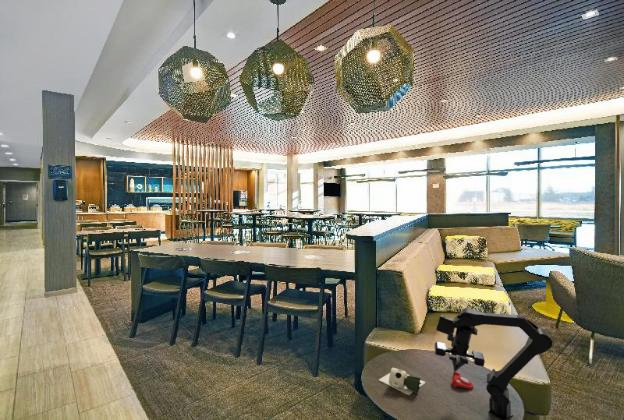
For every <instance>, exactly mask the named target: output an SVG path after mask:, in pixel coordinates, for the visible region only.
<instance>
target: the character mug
mask: <svg viewBox="0 0 624 420" xmlns="http://www.w3.org/2000/svg"><path fill="white" fill-rule="evenodd" d="M389 373H390V376H389V384H391V385H392V386H394V387H397V388H404V387H405V386H406V387H407V388H408V389H410V390H412V391H414V392H413V393H416V394H418V393H419V391H420V388H421V387H419V386H420V384H421V383H420V380H421V377H418V376H416V375H415V376H414V375H410V374H408V375H409V376H407V372H406V371H405V370H402V369H399V368H395V367H392V368H391V369H390V372H389Z"/></svg>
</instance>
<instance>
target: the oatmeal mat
mask: <svg viewBox="0 0 624 420" xmlns="http://www.w3.org/2000/svg"><path fill="white" fill-rule="evenodd" d="M406 374H407V373H406ZM409 375H410V374H407V376H409ZM389 376H390V372H389V373H387V374H385V375H384V376H383V377H381V378H379V379H378V381H379V382H381V383H383V384H385V385H387V386H389V387H390V388H391V387H392V388H394V390H395V389H396V391H400V392H401V393H403V394H405V395H408V396H410V395H411V394H413V393H415V392H414V391H412V390H410V389H408V388H407V387H406V386H405V387H404V388H397V387H394V386H392V385H391V384H389ZM420 383H421V384H420V386H419V387H420V388H421V387H422V386H424V385H425V384H426V381H424V380H421V379H420Z"/></svg>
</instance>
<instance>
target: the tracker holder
mask: <svg viewBox="0 0 624 420" xmlns="http://www.w3.org/2000/svg"><path fill="white" fill-rule="evenodd" d="M450 385H451V386H453V388H457V387H459V388H464V389H467V390H473V389H474V384H473V383H472V382H471V381H470V380H469V379H468V378H466V377H464V376H462V375H461V373H460V372H459V371H458V370H457V371H454V370H453V373H452V380H451V383H450Z"/></svg>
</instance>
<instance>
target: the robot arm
mask: <svg viewBox="0 0 624 420" xmlns="http://www.w3.org/2000/svg"><path fill="white" fill-rule="evenodd" d="M483 325H489V326H490V325H491V326H498V327H499V326H501V327H513V328H514V327H516V328H519V329H521V331H523V333H525V335H526V336H527V339H526V341H525V344H524V346H523V347H522V348H520V349H519V351H518V352H516V354H515V355H514V356H513V357H512V358H511V359H509V361H507V363H506V364H505V365H503V367H502V368H501V369H500V370H496V369H495V368H492V369H491V371H490V372H489V373H486V379H485V380H486V382H485V383H486V384H485V386H486V387H485V388H486V391H487V393H488V395H489V396H490V398H489V399H488V403H489V404H488V405H489V406H488V413H489V414H491V415H493V416H495V417H497V418H499V419H500V420H508V419H510V418H512V416H514V414H513V412H511V411H512V409H511V408H512V405H511V403H512V401H511V399H510V392H509V388H508V386H509V384H510V382H511V381H512V379H514V377H515V376H516V375H517V374H518V373H519V372H521V371H522V369H524V368H525V366H526V365H528V364H529V363H530V361H532V360H533V359H534V358H535V357H536V356H539V355H541V354H544V353H546V352H547V351H549V350H550V349H552V347H553V346H554V345H553V344H554V342H553V340H552V338H551V336H550V334H549V332H548V331H547V330H546V329H544V328H540V327H539V326H537V325H536V324H535V323H534V322H532V321H531V320H530V319H528V318H527V317H526V316H525V315H523V314H507V313H493V312H483V311H481V310H478V309H473V308H470V307H469V308H467V307H466V308H462V309H461V311H460V313H459V314H458V315H455V316H454V318H450V317H448V316H445V315H442V314H440V315H439V318H438V322H437V324H436V329H435V330H436V332H439V333H442V334H445V335H446V340H447V341H449V342H450V343H451V344H450V346H451V347H447V346H446V343H444V342H440V341H435V343H434V354H435V355H437V356H440V357H444V356H446V354H448V359H449V360H450V361H451V363H452V367H453V371H457V372H458V370H459V369H461V368H462V367H463V366H464V365H468V364H469V360H473V363H474V364H475V365H476V366H479V367H485V362H486V361H485V357H484V354H483V352H481V351H476V350H472V351H471V352H468V350H469V349H470V342H471V338H472V335H474V336H478V329H477V328H476V327H478V326H483ZM455 329H456V330H455ZM454 333H455V334H454ZM457 356H458V357H457Z"/></svg>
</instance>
